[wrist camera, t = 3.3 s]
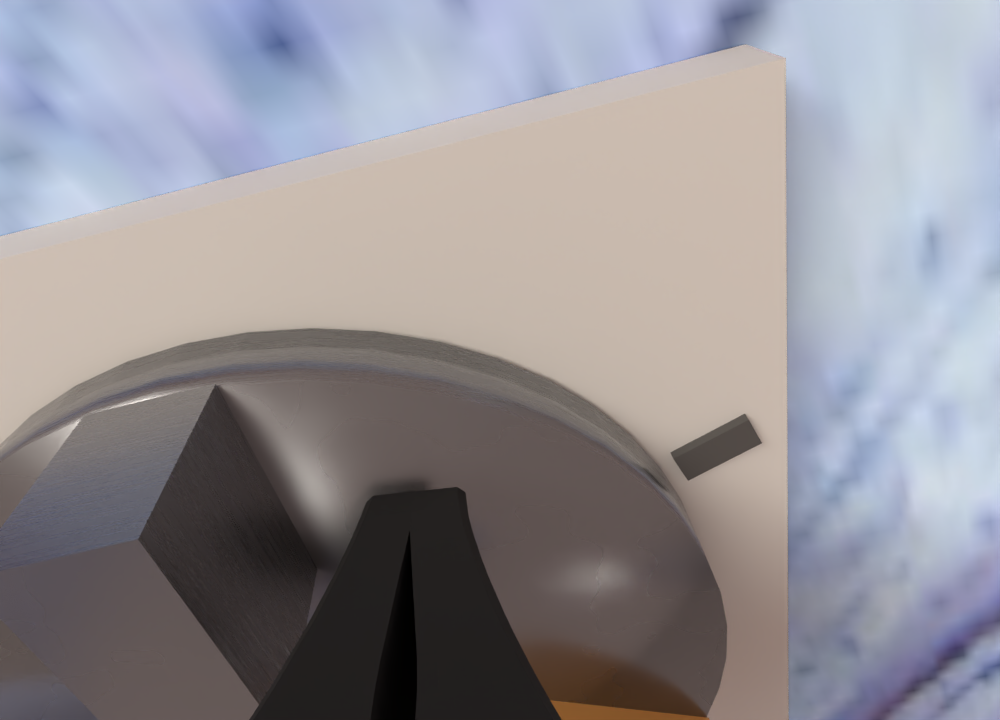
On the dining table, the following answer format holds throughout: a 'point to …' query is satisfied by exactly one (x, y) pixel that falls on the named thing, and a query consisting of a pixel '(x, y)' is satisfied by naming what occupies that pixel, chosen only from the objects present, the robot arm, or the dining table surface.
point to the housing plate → (497, 287)
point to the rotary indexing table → (330, 526)
